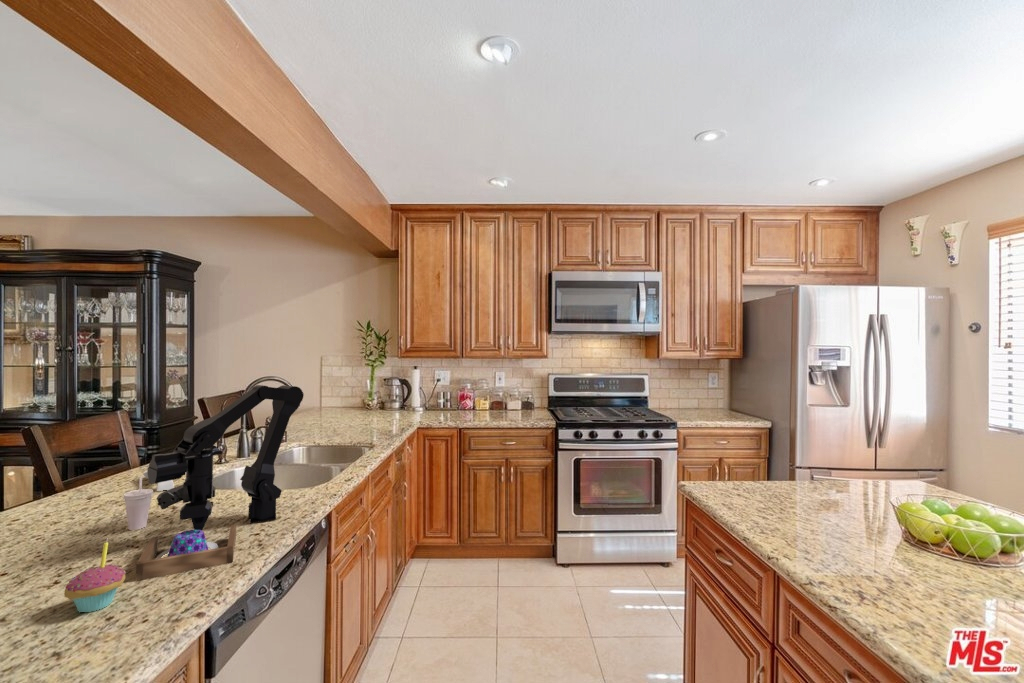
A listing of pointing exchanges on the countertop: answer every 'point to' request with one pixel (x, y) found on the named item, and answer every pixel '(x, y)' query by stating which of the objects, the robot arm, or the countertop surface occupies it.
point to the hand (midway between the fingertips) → (198, 534)
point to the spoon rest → (162, 484)
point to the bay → (183, 559)
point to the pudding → (188, 543)
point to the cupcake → (95, 585)
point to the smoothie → (138, 506)
